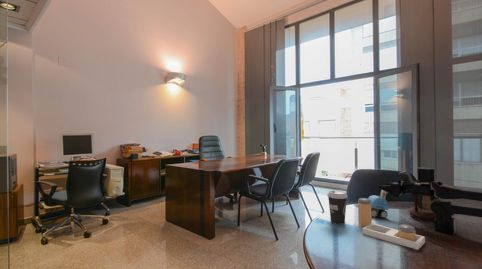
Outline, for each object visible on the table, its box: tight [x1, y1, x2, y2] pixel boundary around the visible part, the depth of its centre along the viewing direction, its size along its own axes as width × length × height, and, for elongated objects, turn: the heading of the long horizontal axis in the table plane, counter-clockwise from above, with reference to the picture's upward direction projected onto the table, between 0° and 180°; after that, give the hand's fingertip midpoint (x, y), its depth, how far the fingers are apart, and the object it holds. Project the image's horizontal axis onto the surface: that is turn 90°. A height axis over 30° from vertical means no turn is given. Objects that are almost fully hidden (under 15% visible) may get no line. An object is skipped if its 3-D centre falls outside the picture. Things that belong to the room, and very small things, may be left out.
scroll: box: [409, 179, 440, 222], centre depth 127 cm, size 15×15×20 cm
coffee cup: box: [326, 190, 348, 225], centre depth 124 cm, size 10×10×15 cm
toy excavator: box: [367, 189, 389, 219], centre depth 131 cm, size 9×17×17 cm, turn 94°
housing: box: [362, 223, 426, 251], centre depth 101 cm, size 20×9×4 cm, turn 40°
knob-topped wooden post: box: [357, 197, 373, 227], centre depth 116 cm, size 5×5×13 cm
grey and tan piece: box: [397, 224, 417, 242], centre depth 97 cm, size 5×5×6 cm
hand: (382, 185), depth 129 cm, fingers open, 9 cm apart
